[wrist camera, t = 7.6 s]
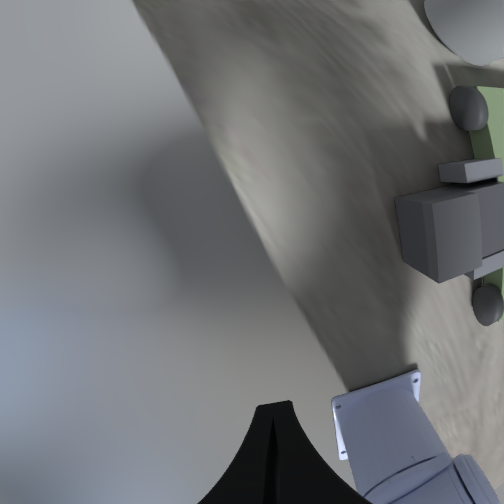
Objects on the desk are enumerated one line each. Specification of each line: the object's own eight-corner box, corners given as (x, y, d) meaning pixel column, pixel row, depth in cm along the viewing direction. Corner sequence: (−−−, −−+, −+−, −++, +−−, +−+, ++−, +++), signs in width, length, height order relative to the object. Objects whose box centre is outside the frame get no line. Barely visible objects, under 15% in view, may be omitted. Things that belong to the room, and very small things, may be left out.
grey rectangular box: (482, 235, 18) (521, 248, 13) (403, 261, 18) (438, 283, 14) (477, 179, 17) (518, 183, 12) (394, 197, 17) (431, 204, 13)
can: (498, 65, 14) (589, 36, 2) (450, 73, 15) (559, 26, 3) (458, -4, 13) (528, -55, 1) (402, -5, 13) (474, -83, 2)
